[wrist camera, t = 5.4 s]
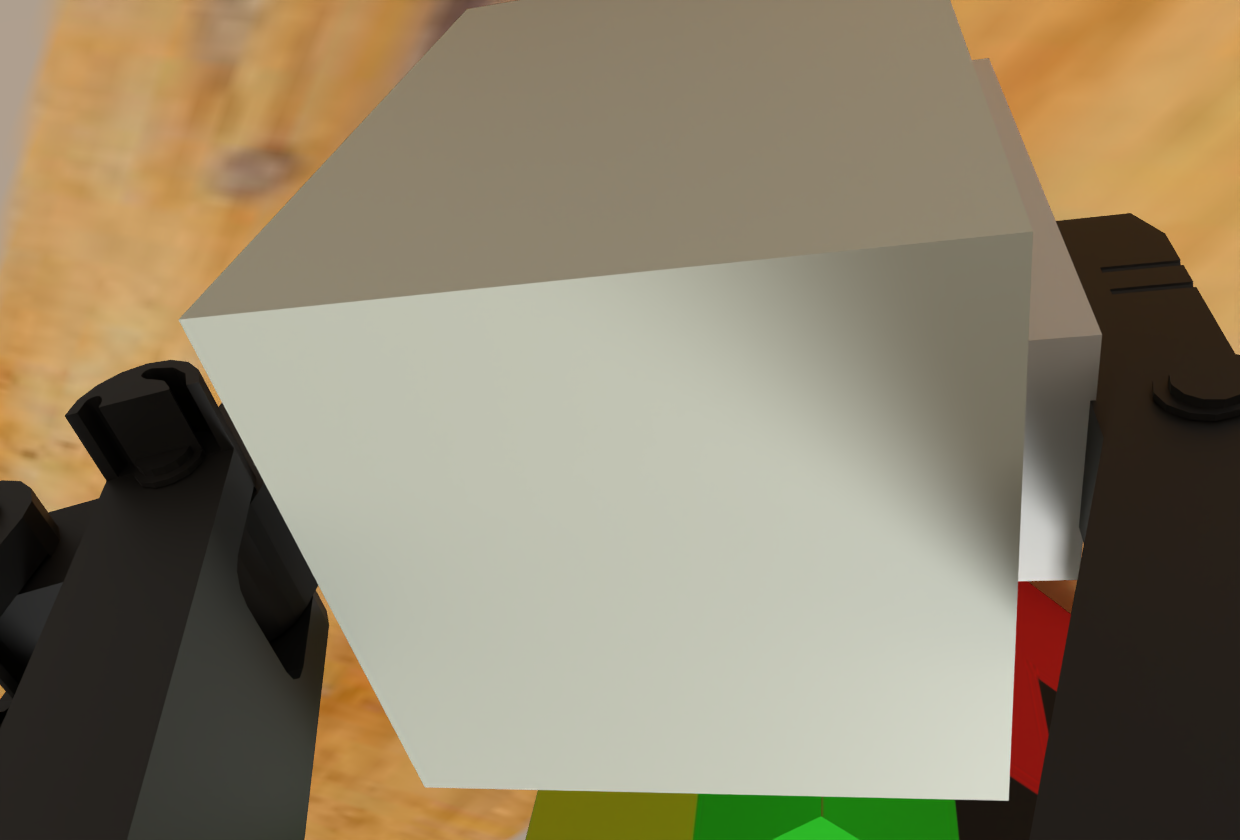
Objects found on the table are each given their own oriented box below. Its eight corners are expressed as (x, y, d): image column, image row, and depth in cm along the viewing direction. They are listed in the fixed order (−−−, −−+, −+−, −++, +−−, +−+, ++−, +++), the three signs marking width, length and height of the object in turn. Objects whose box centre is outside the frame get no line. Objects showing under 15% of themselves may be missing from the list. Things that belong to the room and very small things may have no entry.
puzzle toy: (831, 775, 32) (829, 1140, 25) (581, 618, 30) (491, 973, 22) (1104, 637, 27) (1215, 1057, 19) (825, 427, 24) (821, 816, 16)
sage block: (566, 370, 17) (424, 787, 11) (466, 9, 14) (177, 319, 8) (933, 340, 16) (1007, 800, 10) (925, -71, 12) (1033, 232, 6)
